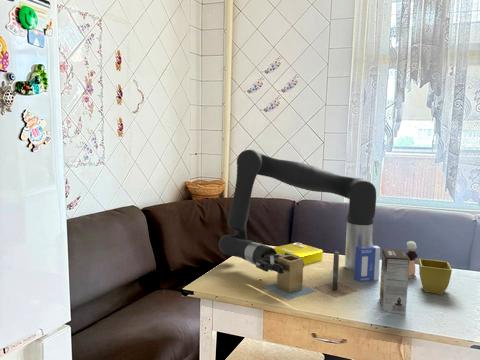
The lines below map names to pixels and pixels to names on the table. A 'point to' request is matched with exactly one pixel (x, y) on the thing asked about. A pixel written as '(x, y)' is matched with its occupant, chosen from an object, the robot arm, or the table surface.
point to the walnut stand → (335, 282)
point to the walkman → (367, 263)
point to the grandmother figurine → (412, 258)
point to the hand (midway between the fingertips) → (293, 268)
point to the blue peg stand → (288, 296)
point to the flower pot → (434, 275)
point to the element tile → (301, 252)
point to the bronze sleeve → (290, 274)
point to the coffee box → (394, 280)
